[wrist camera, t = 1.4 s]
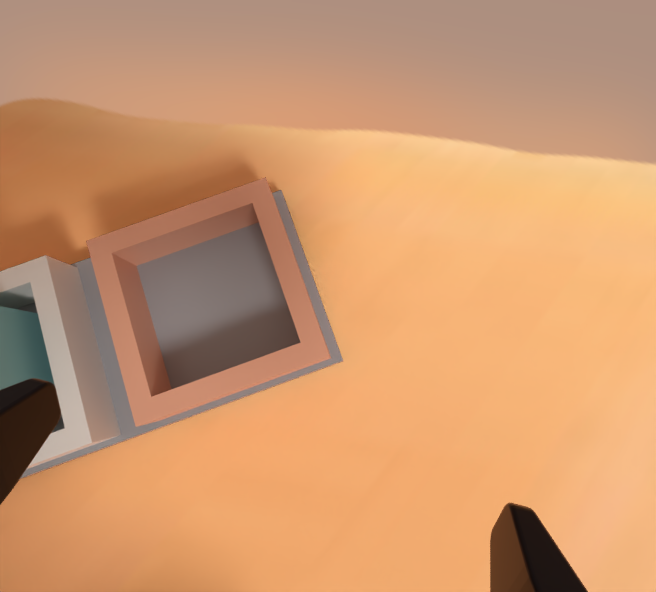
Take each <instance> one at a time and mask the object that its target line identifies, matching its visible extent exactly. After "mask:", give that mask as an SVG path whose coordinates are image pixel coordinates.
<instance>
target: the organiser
mask: <svg viewBox="0 0 656 592" xmlns="http://www.w3.org/2000/svg"><path fill="white" fill-rule="evenodd" d="M86 242H87V246H88V250H89V253H90V257H91V258H88V259H85V260H82V261H80V262H77V263H74V264H71V265H69V264H67V263H64V262H62V261H59V260H57V259H54V258H52V257H49V256H47V255H45V256H42V257H39V258H37V259H34V260H31V261H28V262H25V263H22V264H20V265H17V266H14V267H11V268H8V269H6V270H3V271H0V306H2V307H8V308H13V309H18V310H23V311H28V312H33V313H38V317H39V321H40V325H41V329H42V334H43V338H44V342H45V346H46V351H47V355H48V359H49V363H50V367H51V372H52V376H53V380H54V384H55V388H56V392H57V396H58V400H59V404H60V409H61V416H60V419H59V421H58V423H57V425H56V427H55V428H54V430H53V431H52V432H51V434H50V435H49V437H48V438H47V440H46V441H45V443H44V444H43V446H42V447H41V449H40V450H39V451H38V453H37V454H36V456H35V457H34V459H33V460H32V462H31V463H30V465H29V466H28V468H27V469H26V470H25V472H24V473H23V475H22V476H21V478H20V479H22V478H24V477H27V476H30V475H33V474H35V473H38V472H41V471H43V470H46V469H49V468H52V467H54V466H57V465H60V464H63V463H65V462H68V461H71V460H74V459H76V458H79V457H82V456H85V455H87V454H90V453H93V452H96V451H98V450H101V449H104V448H107V447H109V446H112V445H115V444H117V443H120V442H123V441H126V440H128V439H131V438H134V437H137V436H139V435H142V434H145V433H148V432H150V431H153V430H156V429H159V428H161V427H164V426H167V425H170V424H172V423H175V422H178V421H180V420H183V419H186V418H189V417H191V416H194V415H197V414H200V413H202V412H205V411H208V410H211V409H213V408H216V407H219V406H222V405H224V404H227V403H230V402H233V401H235V400H238V399H241V398H243V397H246V396H249V395H252V394H254V393H257V392H260V391H263V390H265V389H268V388H271V387H274V386H276V385H279V384H282V383H285V382H287V381H290V380H293V379H296V378H298V377H301V376H304V375H307V374H309V373H312V372H315V371H317V370H320V369H323V368H326V367H328V366H331V365H334V364H337V363H339V362H342V361H343V359H342V356H341V354H340V351H339V348H338V345H337V343H336V340H335V337H334V334H333V332H332V329H331V326H330V323H329V320H328V318H327V315H326V312H325V309H324V307H323V304H322V301H321V298H320V296H319V293H318V290H317V287H316V285H315V282H314V279H313V276H312V274H311V271H310V268H309V265H308V262H307V260H306V257H305V254H304V251H303V249H302V246H301V243H300V240H299V238H298V235H297V232H296V229H295V227H294V224H293V221H292V218H291V216H290V213H289V210H288V207H287V204H286V202H285V199H284V196H283V193H282V191H281V190H279V191H277V192H274V193H272V191H271V189H270V187H269V184H268V182H267V179H266V177H265V178H262V179H259V180H257V181H254V182H251V183H248V184H245V185H242V186H240V187H237V188H234V189H231V190H228V191H226V192H223V193H220V194H217V195H214V196H211V197H209V198H206V199H203V200H200V201H197V202H195V203H192V204H189V205H186V206H183V207H180V208H178V209H175V210H172V211H169V212H166V213H164V214H161V215H158V216H155V217H152V218H149V219H147V220H144V221H141V222H138V223H135V224H132V225H130V226H127V227H124V228H121V229H118V230H116V231H113V232H110V233H107V234H104V235H101V236H99V237H96V238H93V239H90V240H87V241H86Z"/></svg>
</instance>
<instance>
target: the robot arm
mask: <svg viewBox="0 0 656 592" xmlns="http://www.w3.org/2000/svg"><path fill="white" fill-rule="evenodd" d="M60 416H61V409H60V404H59V400H58V396H57V392H56V388H55V385H54V384H53V383H51V382H49V381H45V380H41V379H37V378H31V379H28V380H25V381H22V382H20V383H17V384H14V385H12V386H9V387H7V388H4V389H1V390H0V504H1V503H2V502H3V501H4V499H5V498H6V497H7V496H8V494H9V493H10V492H11V490H12V489H13V488H14V486H15V485H16V483H17V482H18V481H19V479H20V478H21V476H22V475H23V473H24V472H25V470H26V469H27V468H28V466H29V465H30V463H31V462H32V460H33V459H34V457H35V456H36V454H37V453H38V451H39V450H40V449H41V447H42V446H43V444H44V443H45V441H46V440H47V438H48V437H49V435H50V434H51V432H52V431H53V430H54V428H55V427H56V425H57V423H58V421H59V419H60ZM490 592H588V591H587V590H586V588H585V587H584V585H583V584H582V582H581V581H580V579H579V578H578V576H577V575H576V573H575V572H574V570H573V569H572V567H571V566H570V564H569V563H568V561H567V560H566V558H565V557H564V555H563V554H562V552H561V551H560V549H559V548H558V546H557V545H556V543H555V542H554V540H553V539H552V537H551V536H550V534H549V533H548V531H547V530H546V528H545V527H544V525H543V524H542V522H541V521H540V519H539V518H538V516H537V515H536V513H535V512H534V511H533V510H532V509H531V508H529V507H526V506H522V505H518V504H514V503H508V504H506V505H505V507H504V509H503V510H502V512H501V514H500V516H499V518H498V520H497V522H496V523H495V525H494V527H493V529H492V533H491V540H490Z"/></svg>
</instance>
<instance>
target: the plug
mask: <svg viewBox="0 0 656 592" xmlns="http://www.w3.org/2000/svg"><path fill="white" fill-rule="evenodd" d="M31 378H37V379H41V380H45V381H49V382H51V383H53V384H54V380H53V376H52V372H51V367H50V363H49V359H48V355H47V351H46V346H45V342H44V338H43V334H42V329H41V325H40V321H39V317H38V313H33V312H28V311H23V310H18V309H13V308H8V307H2V306H0V390H1V389H4V388H7V387H9V386H12V385H14V384H17V383H20V382H22V381H25V380H28V379H31ZM54 385H55V384H54Z"/></svg>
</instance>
